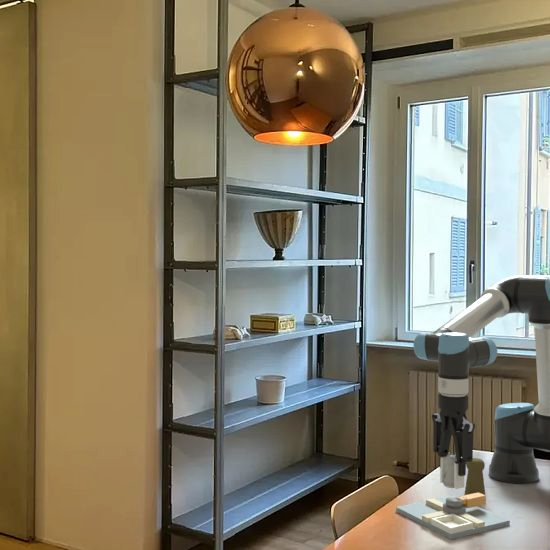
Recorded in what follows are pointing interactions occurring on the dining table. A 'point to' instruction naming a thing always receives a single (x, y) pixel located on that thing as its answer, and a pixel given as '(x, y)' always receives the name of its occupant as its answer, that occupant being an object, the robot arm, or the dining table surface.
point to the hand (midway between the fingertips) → (452, 484)
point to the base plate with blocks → (438, 508)
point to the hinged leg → (466, 500)
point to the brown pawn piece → (475, 477)
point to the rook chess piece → (450, 471)
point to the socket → (452, 523)
